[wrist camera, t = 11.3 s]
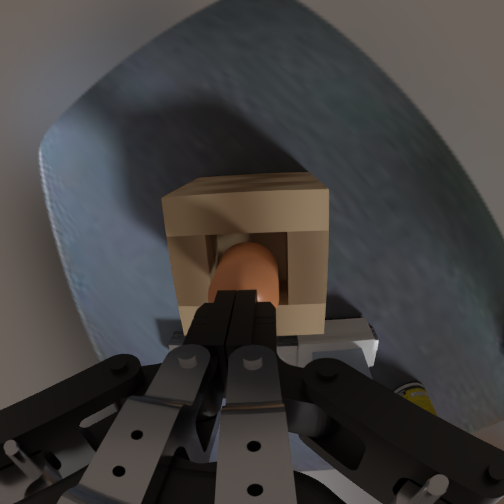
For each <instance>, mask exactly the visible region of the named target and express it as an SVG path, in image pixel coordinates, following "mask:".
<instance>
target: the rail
mask: <svg viewBox="0 0 504 504" xmlns="http://www.w3.org/2000/svg"><path fill="white" fill-rule="evenodd" d="M370 329H371V331H372V333H373V336H374V338H375V342H374V347H373V352H372V357H371V362H370V366H373V365H374V361H375V356H376V352H377V347H378V342H379V339H378V337H377V335H376V333H375V331H374V328H373V327H370ZM185 337H186V335H184V332H174V334H173V336H172V338H171V340H170V343H169V345H168V346H169V350H170V351H171V350H173V349H174V348H176V347H179V346H182V344H183V342H184V339H185ZM277 354H278V356H279V357H280V358H281V359H282V360H283V361H284V362H286V363H288V364H290V365H293V366H297V367H298V336H297V335H287V336H277ZM370 366H369V367H370Z"/></svg>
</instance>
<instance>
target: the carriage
mask: <svg viewBox="0 0 504 504" xmlns="http://www.w3.org/2000/svg"><path fill="white" fill-rule="evenodd" d="M297 336H298V367H302V368H304V367H305V366H306V365H307V364H308V363H309V362H311V361H313V360H315V359H319V358H334V359H338V360H341V361H343V362H345V363H346V364H348V365H350V366H351V367H353V368H354V369H356V370H358V371H359V372H361V373H363V374H364V375H366V376H368V377H369V378H371V379H373V378H372V376H371V373H370V370H369V366H370V362H371V357H372V352H373V347H374V342H375V338H374V336H373V333H372V331H371V329H370V327H369V325H368V322H367V320H366V318H354V319H339V320H325V325H324V334H311V335H297Z"/></svg>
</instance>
